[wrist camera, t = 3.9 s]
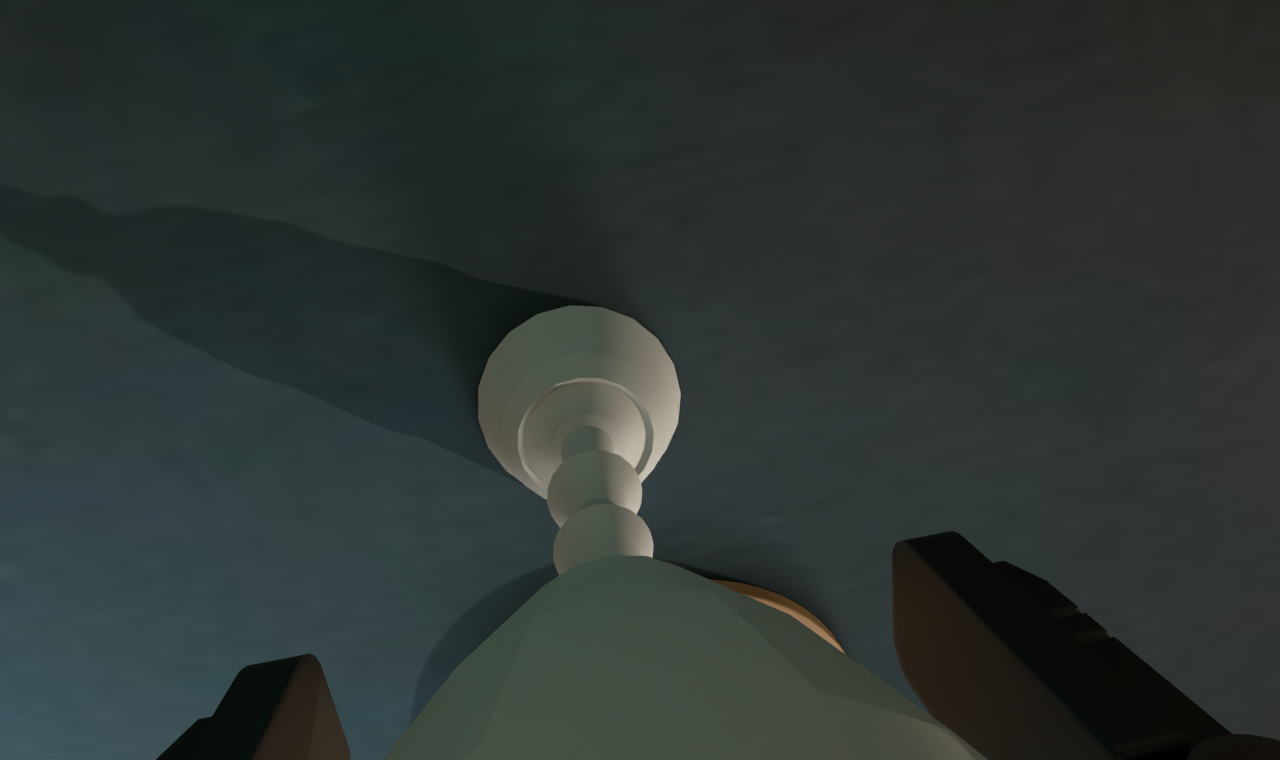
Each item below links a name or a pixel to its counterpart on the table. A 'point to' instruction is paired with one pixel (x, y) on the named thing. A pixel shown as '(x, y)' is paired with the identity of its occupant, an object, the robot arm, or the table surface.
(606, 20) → the table surface
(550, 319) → the chalice
